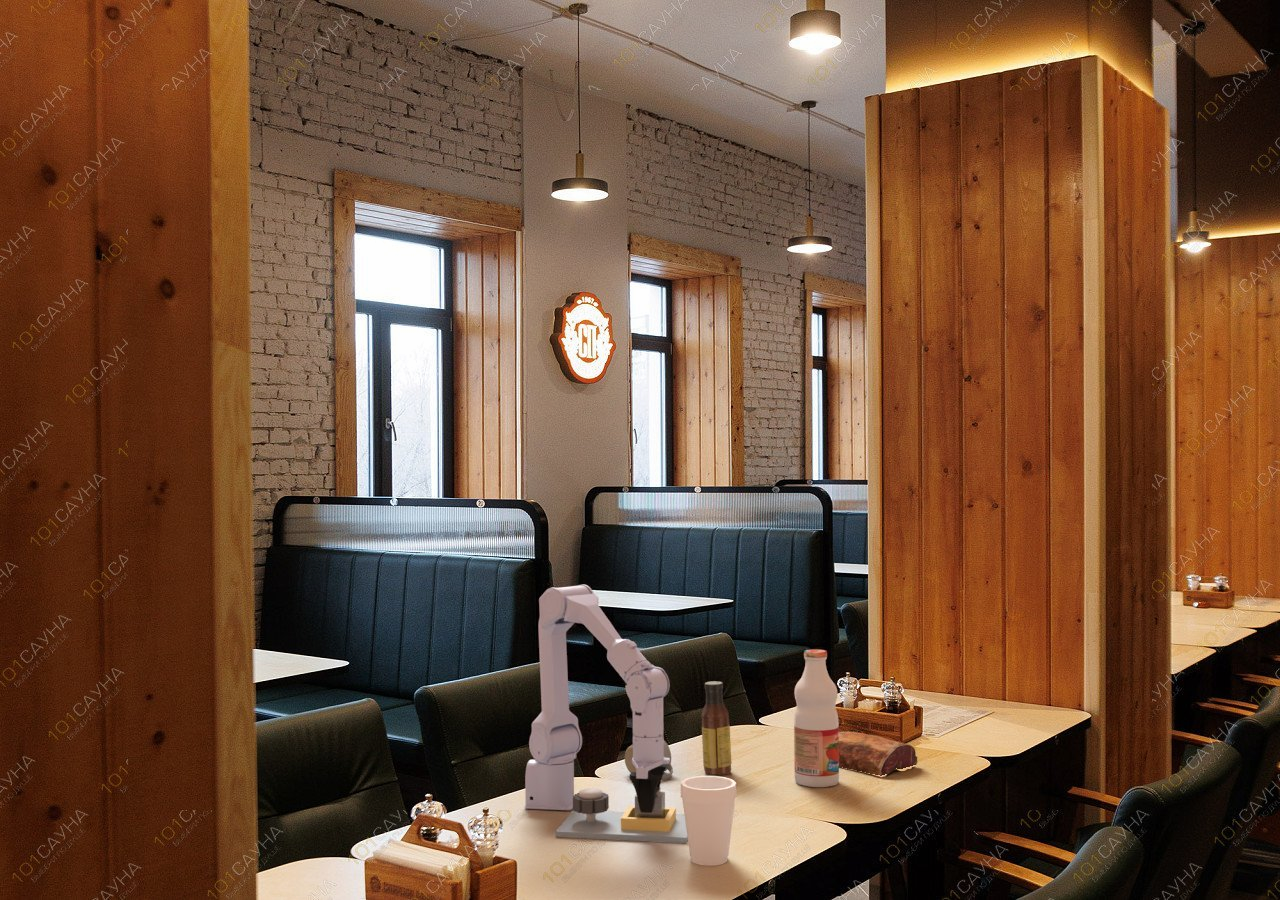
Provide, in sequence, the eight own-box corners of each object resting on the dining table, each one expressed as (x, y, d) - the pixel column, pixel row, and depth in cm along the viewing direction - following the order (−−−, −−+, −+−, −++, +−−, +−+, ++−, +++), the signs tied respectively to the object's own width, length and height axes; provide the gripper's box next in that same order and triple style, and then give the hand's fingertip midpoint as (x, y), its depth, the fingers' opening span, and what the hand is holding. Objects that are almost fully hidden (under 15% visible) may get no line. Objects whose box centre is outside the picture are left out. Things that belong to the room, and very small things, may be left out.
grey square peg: (635, 826, 212) (634, 791, 212) (638, 820, 216) (638, 785, 216) (661, 827, 211) (661, 792, 211) (665, 821, 215) (664, 786, 215)
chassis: (555, 836, 209) (555, 818, 210) (573, 814, 223) (573, 797, 223) (686, 843, 205) (686, 824, 205) (696, 820, 219) (696, 802, 219)
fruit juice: (793, 776, 251) (792, 647, 252) (837, 777, 250) (836, 647, 251) (795, 788, 242) (794, 654, 242) (840, 788, 241) (839, 654, 241)
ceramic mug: (621, 774, 254) (622, 739, 254) (648, 767, 259) (648, 733, 259) (655, 784, 246) (655, 748, 246) (682, 777, 252) (682, 742, 252)
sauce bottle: (731, 769, 257) (731, 680, 258) (731, 776, 251) (730, 685, 252) (702, 768, 258) (701, 679, 258) (701, 776, 252) (700, 684, 252)
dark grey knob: (570, 813, 213) (570, 795, 213) (577, 803, 219) (577, 786, 219) (604, 814, 212) (603, 797, 212) (610, 804, 218) (610, 787, 218)
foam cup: (703, 847, 203) (703, 773, 203) (747, 857, 197) (746, 781, 198) (670, 861, 196) (670, 784, 196) (714, 872, 190) (714, 793, 190)
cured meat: (841, 746, 280) (840, 718, 280) (929, 764, 261) (928, 734, 261) (792, 760, 268) (792, 730, 268) (880, 781, 249) (880, 749, 249)
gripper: (663, 744, 206) (663, 820, 206) (675, 726, 220) (675, 798, 220) (624, 742, 207) (625, 818, 207) (638, 725, 222) (639, 796, 221)
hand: (648, 808), depth 214 cm, fingers open, 4 cm apart
